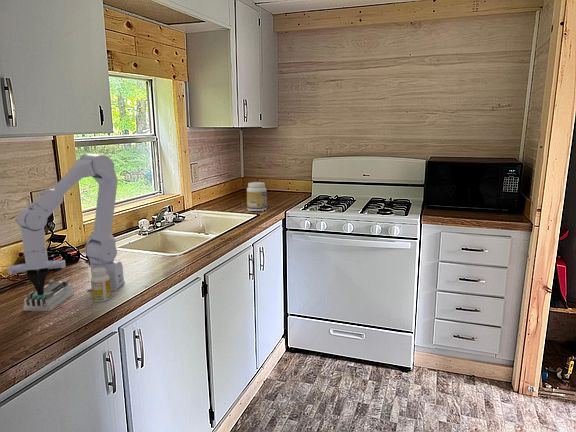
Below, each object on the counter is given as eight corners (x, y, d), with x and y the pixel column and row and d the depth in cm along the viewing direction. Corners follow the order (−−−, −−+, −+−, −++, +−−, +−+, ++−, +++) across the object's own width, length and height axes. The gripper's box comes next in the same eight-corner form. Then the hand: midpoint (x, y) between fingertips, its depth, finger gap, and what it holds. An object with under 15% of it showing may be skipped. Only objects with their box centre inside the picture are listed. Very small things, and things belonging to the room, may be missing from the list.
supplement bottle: (107, 294, 140) (104, 265, 138) (114, 299, 136) (111, 269, 134) (90, 298, 136) (87, 269, 134) (96, 303, 132) (93, 273, 130)
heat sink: (49, 293, 141) (47, 279, 139) (73, 293, 140) (72, 279, 139) (23, 310, 128) (21, 295, 127) (50, 311, 127) (48, 295, 126)
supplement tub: (266, 212, 262) (266, 184, 259) (246, 212, 262) (245, 184, 258) (267, 208, 274) (266, 181, 271) (247, 208, 274) (247, 181, 270)
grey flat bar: (53, 283, 139) (53, 281, 139) (65, 283, 139) (65, 281, 139) (32, 297, 128) (31, 295, 128) (45, 298, 128) (44, 295, 128)
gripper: (64, 243, 133) (68, 285, 136) (8, 248, 127) (14, 292, 130) (62, 249, 127) (67, 293, 130) (4, 255, 121) (10, 301, 124)
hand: (40, 293), depth 130 cm, fingers closed, pressing on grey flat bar
